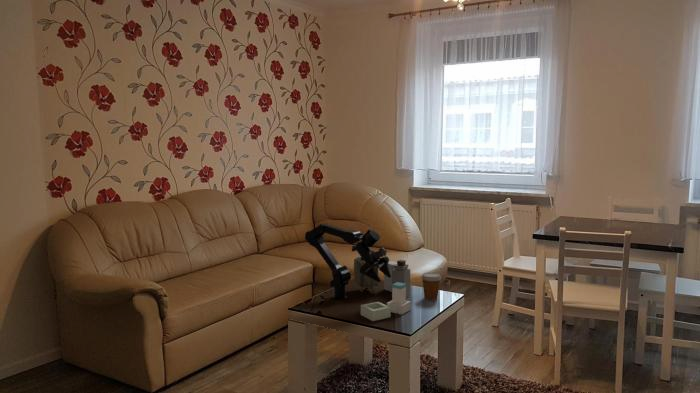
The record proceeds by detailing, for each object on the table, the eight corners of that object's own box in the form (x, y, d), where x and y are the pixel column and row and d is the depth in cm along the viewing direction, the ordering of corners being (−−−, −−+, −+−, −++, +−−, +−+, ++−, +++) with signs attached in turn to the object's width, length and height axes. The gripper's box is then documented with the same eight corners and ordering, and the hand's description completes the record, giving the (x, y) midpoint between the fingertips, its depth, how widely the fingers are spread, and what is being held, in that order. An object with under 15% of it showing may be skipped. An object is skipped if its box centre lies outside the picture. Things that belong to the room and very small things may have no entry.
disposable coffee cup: (439, 302, 246) (439, 277, 244) (419, 300, 249) (419, 276, 247) (441, 296, 254) (442, 273, 253) (423, 294, 258) (423, 271, 256)
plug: (392, 310, 233) (392, 284, 231) (397, 308, 236) (397, 282, 235) (400, 312, 230) (401, 286, 229) (405, 310, 234) (406, 283, 232)
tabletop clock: (378, 294, 257) (378, 246, 254) (360, 296, 255) (361, 247, 252) (369, 287, 271) (369, 240, 268) (353, 288, 269) (353, 241, 266)
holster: (386, 311, 232) (387, 302, 232) (395, 306, 239) (395, 298, 238) (402, 314, 228) (402, 305, 227) (410, 309, 234) (410, 301, 234)
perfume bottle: (409, 295, 257) (410, 260, 255) (403, 298, 251) (404, 262, 249) (398, 293, 260) (398, 258, 258) (391, 296, 255) (392, 261, 253)
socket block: (360, 314, 227) (360, 305, 227) (378, 311, 232) (378, 301, 232) (372, 321, 219) (372, 311, 219) (390, 317, 224) (390, 307, 224)
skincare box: (401, 291, 263) (402, 263, 262) (392, 293, 260) (393, 264, 258) (391, 287, 270) (392, 260, 269) (382, 289, 267) (383, 261, 265)
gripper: (365, 246, 230) (385, 273, 225) (386, 239, 245) (406, 265, 240) (350, 260, 235) (370, 287, 230) (372, 253, 250) (391, 278, 245)
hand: (385, 279), depth 236 cm, fingers open, 9 cm apart
